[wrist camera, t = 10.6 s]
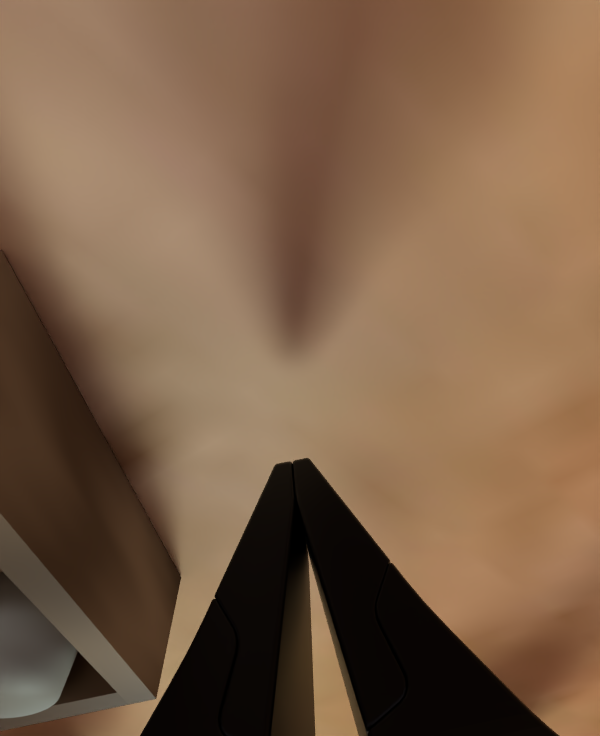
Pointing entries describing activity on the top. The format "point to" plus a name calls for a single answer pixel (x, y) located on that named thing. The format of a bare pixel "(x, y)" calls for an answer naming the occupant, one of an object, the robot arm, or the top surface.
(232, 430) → the top surface
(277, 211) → the top surface
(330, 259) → the top surface
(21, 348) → the walnut tray
